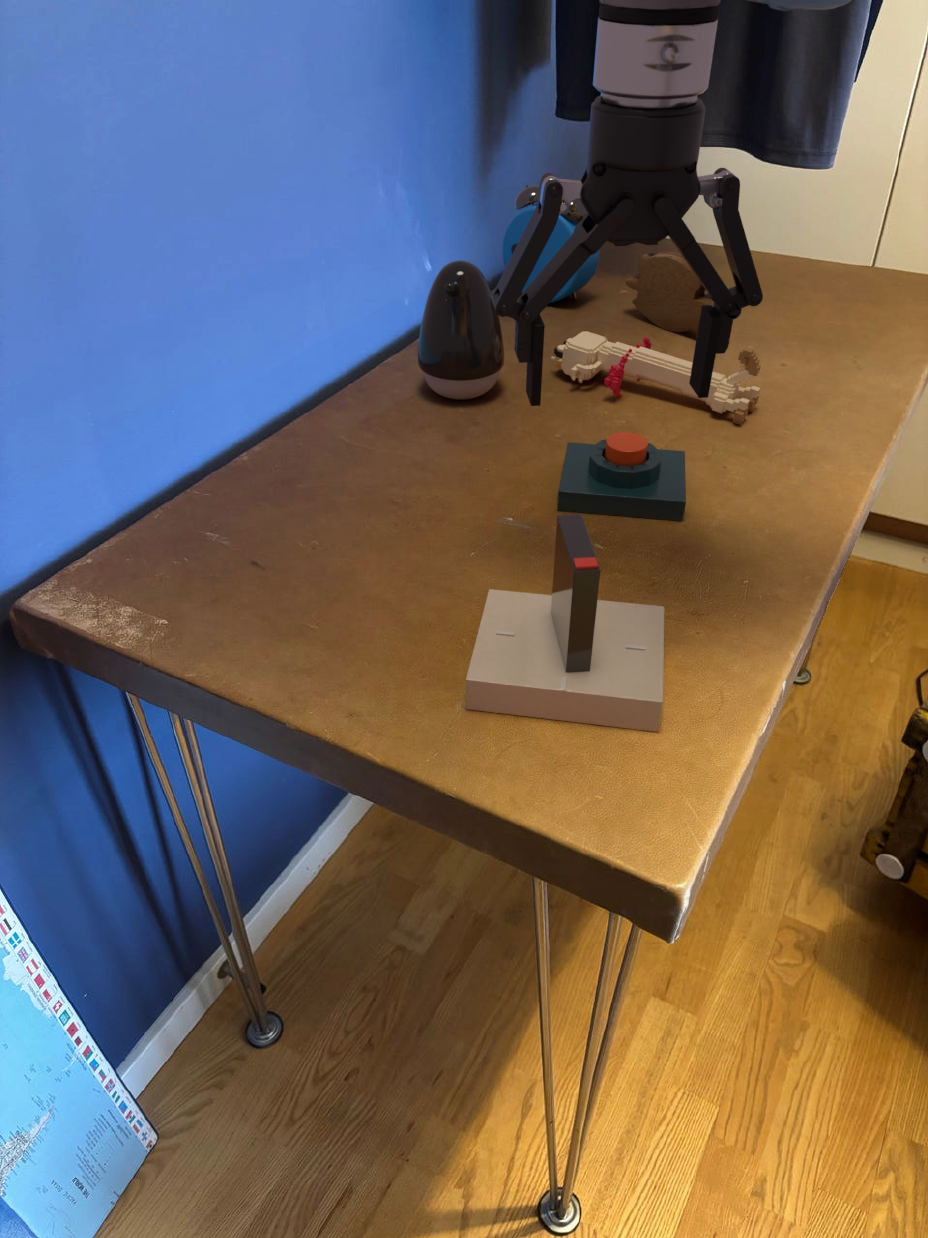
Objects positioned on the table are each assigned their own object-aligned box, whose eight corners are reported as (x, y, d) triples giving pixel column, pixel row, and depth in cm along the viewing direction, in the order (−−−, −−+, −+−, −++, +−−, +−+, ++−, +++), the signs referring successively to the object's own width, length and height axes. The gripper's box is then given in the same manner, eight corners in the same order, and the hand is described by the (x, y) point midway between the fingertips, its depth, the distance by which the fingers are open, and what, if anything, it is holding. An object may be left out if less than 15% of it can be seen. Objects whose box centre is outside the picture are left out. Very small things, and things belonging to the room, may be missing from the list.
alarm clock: (597, 301, 133) (606, 191, 123) (574, 314, 129) (582, 201, 119) (522, 283, 139) (526, 177, 129) (499, 295, 135) (501, 186, 126)
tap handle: (550, 612, 71) (557, 512, 65) (573, 611, 71) (581, 510, 66) (565, 672, 66) (574, 568, 60) (590, 671, 66) (601, 567, 60)
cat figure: (758, 409, 108) (571, 349, 117) (780, 339, 102) (581, 282, 111) (729, 444, 101) (534, 377, 110) (750, 371, 95) (542, 307, 105)
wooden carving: (733, 339, 121) (747, 263, 115) (714, 349, 119) (727, 271, 112) (634, 308, 130) (641, 236, 124) (614, 317, 128) (621, 243, 122)
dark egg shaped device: (408, 405, 107) (401, 273, 97) (431, 369, 115) (427, 244, 105) (493, 414, 105) (494, 280, 95) (511, 376, 113) (514, 250, 103)
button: (646, 449, 90) (648, 433, 89) (645, 469, 87) (647, 453, 86) (605, 446, 91) (607, 430, 90) (603, 466, 88) (605, 449, 87)
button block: (681, 469, 94) (687, 434, 92) (682, 521, 87) (688, 485, 84) (566, 460, 96) (568, 426, 94) (557, 510, 89) (559, 474, 86)
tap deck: (659, 634, 74) (664, 603, 72) (657, 733, 65) (663, 701, 63) (488, 616, 76) (489, 586, 74) (465, 710, 67) (465, 678, 65)
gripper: (466, 111, 56) (467, 423, 70) (855, 101, 58) (782, 407, 72) (455, 89, 62) (458, 381, 76) (809, 81, 64) (750, 367, 77)
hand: (616, 394), depth 74 cm, fingers open, 13 cm apart
